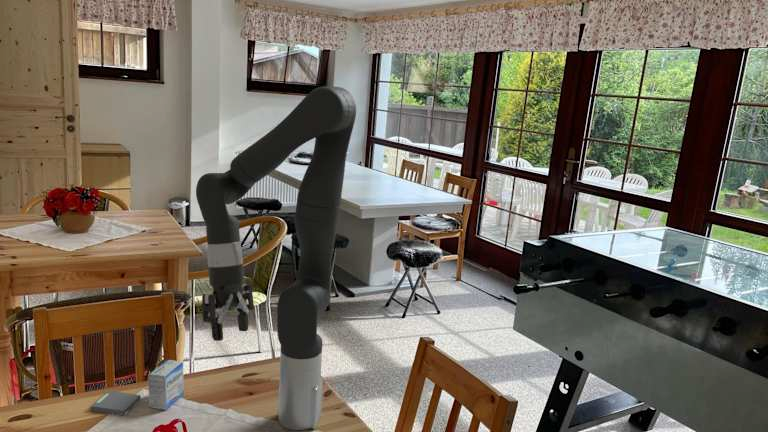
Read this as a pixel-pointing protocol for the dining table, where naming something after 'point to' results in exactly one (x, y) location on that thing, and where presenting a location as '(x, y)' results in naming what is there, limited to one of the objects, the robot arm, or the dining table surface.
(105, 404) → the plate
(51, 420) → the dining table surface
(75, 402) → the dining table surface
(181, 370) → the medicine box
